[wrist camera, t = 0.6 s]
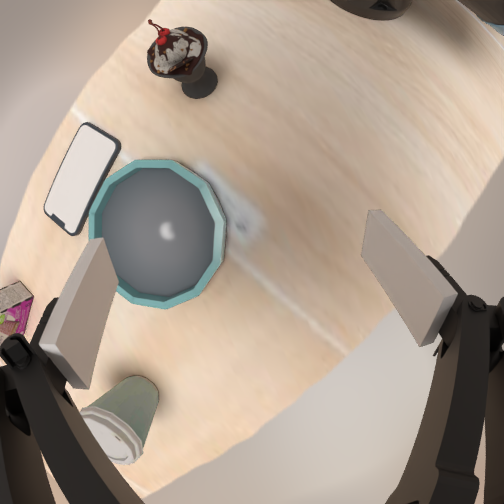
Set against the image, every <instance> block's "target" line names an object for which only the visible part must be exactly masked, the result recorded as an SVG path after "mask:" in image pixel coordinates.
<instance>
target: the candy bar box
mask: <svg viewBox="0 0 504 504" xmlns="http://www.w3.org/2000/svg"><path fill="white" fill-rule="evenodd" d="M32 300H33V295H32V294H31V293H30V292H29V291H28V290H27V289H26V287H25V286H24V285H23V284H22V283H21V282H20V281H19V282H16V283H14V284H11V285H9V286H7V287H4V288H2V289H0V346H1V344H2V343H3V341H4V340H5V339H6V338H7V337H8V336H10V335H12V334H14V333H20V334H23V335H24V332H25V328H26V323H27V319H28V315H29V311H30V307H31V304H32Z"/></svg>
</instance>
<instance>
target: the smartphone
mask: <svg viewBox="0 0 504 504" xmlns="http://www.w3.org/2000/svg"><path fill="white" fill-rule="evenodd" d="M120 150H121V143H120V141H119V140H118V139H116V138H114V137H113V136H111V135H109V134H108V133H106V132H104V131H103V130H101V129H100V128H98V127H96V126H95V125H93V124H91V123H88V122H85V123H83V124H82V125H81V126H80V127H79V129H78V131H77V133H76V135H75V137H74V139H73V141H72V143H71V145H70V147H69V149H68V151H67V153H66V155H65V157H64V159H63V161H62V163H61V165H60V168H59V170H58V172H57V174H56V177H55V179H54V181H53V184H52V186H51V188H50V191H49V193H48V196H47V198H46V201H45V204H44V212H45V214H46V215H47V216H48V217H49V218H51V219H52V220H53V221H54V222H55V223H56V224H57V225H59V226H60V227H61V228H62V229H63V230H64V231H66V232H67V233H68V234H69V235H71V236H75V235H78V234H80V233H81V231H82V228H83V226H84V224H85V221H86V219H87V217H88V215H89V211H90V209H91V207H92V204H93V202H94V200H95V198H96V196H97V194H98V192H99V190H100V189H101V187H102V185H103V183H104V181H105V179H106V177H107V175H108V173H109V171H110V169H111V167H112V165H113V163H114V161H115V160H116V158H117V156H118V154H119V152H120Z"/></svg>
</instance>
